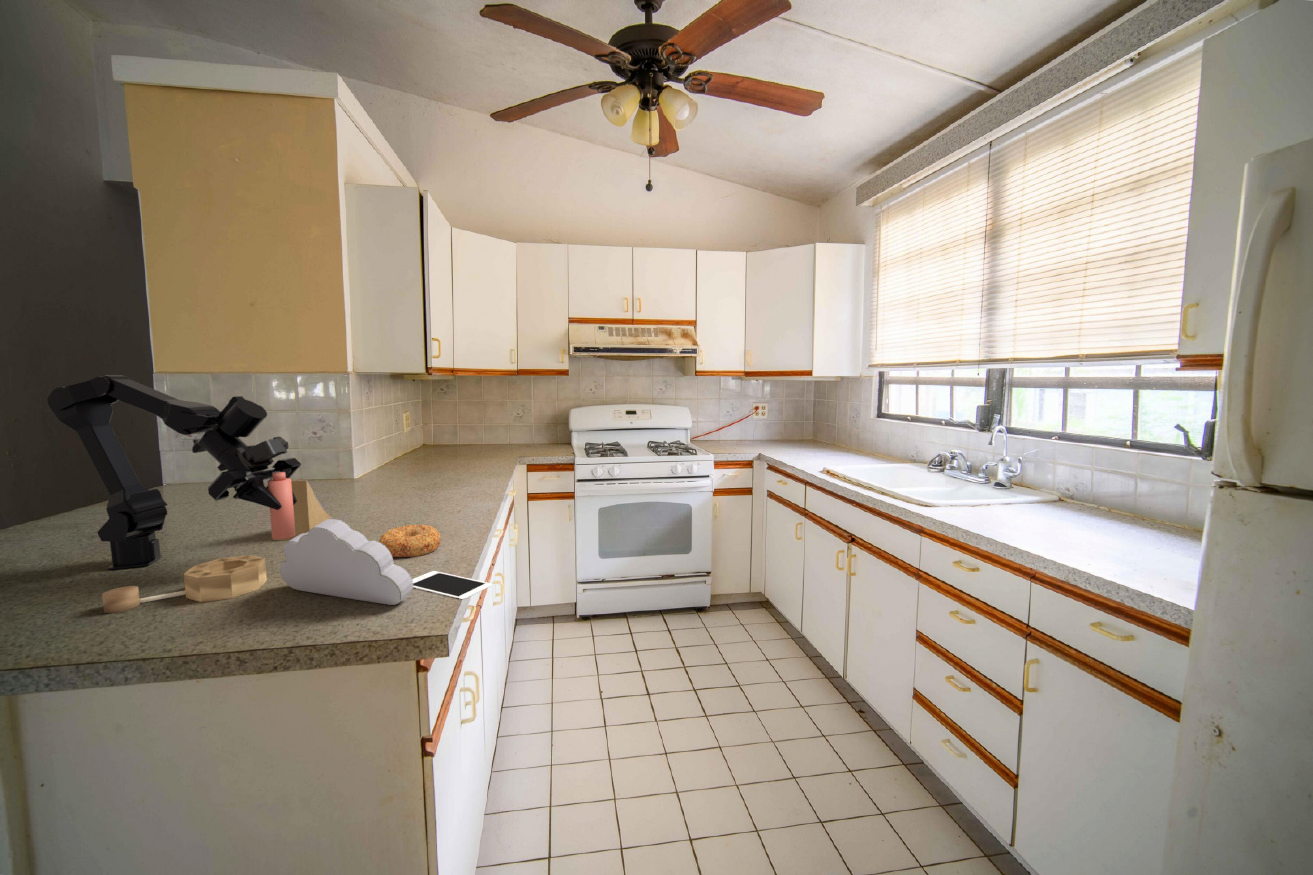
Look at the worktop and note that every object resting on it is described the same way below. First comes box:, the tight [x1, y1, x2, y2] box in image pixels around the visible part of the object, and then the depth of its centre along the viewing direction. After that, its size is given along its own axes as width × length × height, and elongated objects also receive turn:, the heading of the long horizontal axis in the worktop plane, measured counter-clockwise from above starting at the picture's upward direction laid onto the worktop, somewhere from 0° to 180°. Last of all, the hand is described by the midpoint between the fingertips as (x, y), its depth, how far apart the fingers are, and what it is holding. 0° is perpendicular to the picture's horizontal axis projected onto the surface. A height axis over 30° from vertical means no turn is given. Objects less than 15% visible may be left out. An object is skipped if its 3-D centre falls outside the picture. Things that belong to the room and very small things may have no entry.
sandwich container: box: [273, 479, 333, 541], centre depth 136 cm, size 9×15×15 cm, turn 11°
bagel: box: [378, 524, 441, 558], centre depth 122 cm, size 13×14×5 cm
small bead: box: [101, 585, 141, 614], centre depth 91 cm, size 4×4×3 cm
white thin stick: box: [139, 589, 186, 604], centre depth 95 cm, size 12×1×1 cm, turn 128°
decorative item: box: [278, 518, 414, 606], centre depth 96 cm, size 28×10×15 cm, turn 73°
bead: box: [183, 554, 268, 603], centre depth 99 cm, size 11×11×4 cm
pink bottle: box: [267, 472, 295, 540], centre depth 110 cm, size 4×4×14 cm
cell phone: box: [412, 570, 493, 601], centre depth 102 cm, size 8×16×1 cm, turn 65°
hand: (287, 505), depth 110 cm, fingers closed on pink bottle, 4 cm apart
